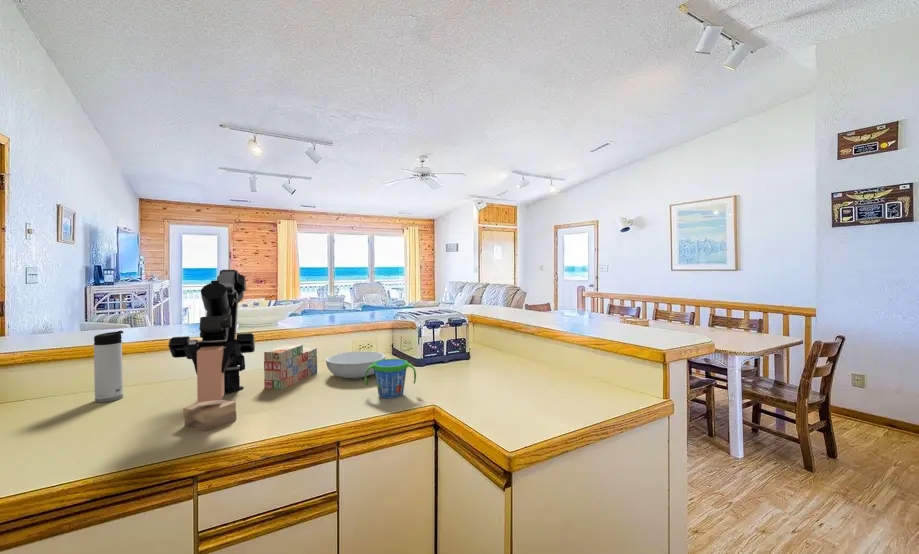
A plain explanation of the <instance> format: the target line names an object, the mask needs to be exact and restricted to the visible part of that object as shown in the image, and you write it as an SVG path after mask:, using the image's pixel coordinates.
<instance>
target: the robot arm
mask: <svg viewBox="0 0 919 554" xmlns="http://www.w3.org/2000/svg"><path fill="white" fill-rule="evenodd" d="M246 291H247V281H246V277H245V276H244V275H243V274H240V273H239V272H238V270H237V269H220V270H219V275H217V276H216V279H215V280H211V281H210V283H207V284H205V285H204V286H203V287H202V288H201V289H200V294H201V300H202V303H203V308H204V310H205V311H206V314H205V316H201V317H200V318H199V329H198V330H199V331H200V332H199V337H200V338H201V340H198V339H190V336H189V335H186V336H172V337H171V338H170V339H169V341H168V348H169V351H170V354H171V356H172V357H173V358H175V359H177V358H179V359H180V358H186V359H187V360H191V361H192V363H193V366H194V370H195V373H196V375H197V351H198V350H199V349H200V348H201V347H216V346H224V359H223V363H222V370H221V372H222V373H224V395H226V394H228V393H229V394H230V393H233V392H235V391H238V390H243V389H244V386H242V385H240V383H241V381H240V380H241V379H240V372H243V371H244V370H246V360H245V355H244V354H247V353H248V354H249V353H250V354H251V353H254V352H255V350H256V349H255V347H256V345H255V344H256V341H255V335H254V334H253V333H252V332H243V333H242V332H241V333H237V325H238V324H237V323H238V322H237V321H238V307H239V303H240V302H241V301H242V300H243V298H244V294H245V292H246Z"/></svg>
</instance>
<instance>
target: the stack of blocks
mask: <svg viewBox="0 0 919 554" xmlns="http://www.w3.org/2000/svg"><path fill="white" fill-rule="evenodd" d="M263 360H264V361H263V370H264V373H263V374H264V375H263V376H264V385H263V386H264V389H267V388H269V390H270V389H271V390H272V389H273V390H283V389H285V388H287V387H289V386H293V385H294V384H296V383H298V382H300V381H302V380H304V379H307V378H308V377H310V376H313V375H314V374H316V373H318V352H317V347H304V346H303V344H290V343H287V344H284V345H281V346H277V347H275V348H272V349H268V350H266V351H263Z"/></svg>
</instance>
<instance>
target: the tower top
mask: <svg viewBox="0 0 919 554" xmlns="http://www.w3.org/2000/svg"><path fill="white" fill-rule="evenodd" d="M236 404H237V402H236V401H234V400H233V401H232V400H225V399H221V400H215V401H206V402H196V403H195V404H191V405H189V406H186V407H183V408H182V411H183V412H182V413H183V415H182V416H183V417H182V418H183V419H184V418H185V419H190V420H195V421H200V422H205V423H208V422H210V421H213V420H215V419H218V418H221V417H223V416H226V415H228V414H231V413H233V412H236V413H237V409H236V408H237V407H236V406H237V405H236ZM185 419H184V420H185Z"/></svg>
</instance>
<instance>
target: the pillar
mask: <svg viewBox="0 0 919 554" xmlns="http://www.w3.org/2000/svg"><path fill="white" fill-rule="evenodd" d="M223 359H224V346H216V347H201V348H200V349H199V350H198V351H197V374H196V377H197V379H196V380H197V382H196V383H197V387H196V389H197V391H196V392H197V393H196V394H197V403H200V402H206V401H215V400H223V397H224V395H225V394H224V373H222V372H221V370H222V363H223Z"/></svg>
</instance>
